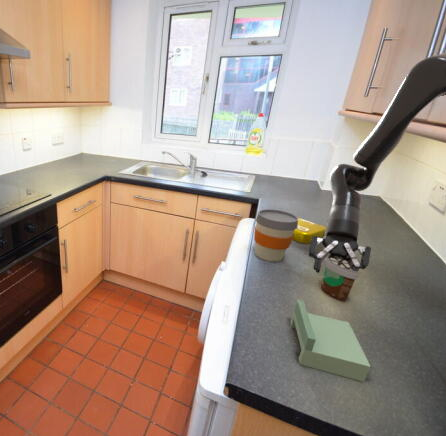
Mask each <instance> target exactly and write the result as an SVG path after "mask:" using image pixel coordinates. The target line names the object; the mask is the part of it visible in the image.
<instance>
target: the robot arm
mask: <svg viewBox="0 0 446 436" xmlns="http://www.w3.org/2000/svg"><path fill="white" fill-rule="evenodd" d="M444 95H446V52H443V53H439V54H435V55H431V56H429V57H426V58H423V59H422V60H420V61H419V62H417V63H415V64H414V66H413V67H412V68H410V70H409V71H408V73H407V74H406V76H405V77H404V80H403V81H402V83H401V84H400V87H399V88H398V90H397V92H396V93H395V95H394V97H393V99H392V101H391V102H390V104H389V105H388V107H387V108H386V110H385V112H384V114H383V115H382V116H381V118H380V119H379V121H378V122H377V124H376V126H374V128H373V129H372V131H371V132H370V133H369V134H368V135H367V136H366V138H365V139H364V140H363V142H362V143H361V144H360V145H359V147H358V148H357V149H356V151H355V152H354V153H353V156H352V157H353V161H354V162H355V163H356V164H357V165H359V166H355V165H352V164H348V163H340V164H338V165H336V166H334V167H333V169H331V172H330V176H329V183H330V188H331V195H332V201H331V208H330V211H329V214H328V218H327V220H326V221H327V224H326V231H325V234H324V237H323V238H318V237H317V236H313V237H312V239H311V243H309V244H310V245H309V251H308V256H309V257H310V258H313V259H314V264H313V270H314V271H315V273H318V274H319V273H320V272H321V267H322V264H323V258H325V257H326V256H327V255H328V254H331V255H333V256H339V257H342V258H344V257H345V258H346V259H347V260H348V261H349V262H350V263H351V265H352V268H353V270H354V271H356V272H358V273H359V269H360V270H361V269H362V270H365V269H366V268H367V267H369V265H370V258H371V251H372V247H370V246H369V245H368V246H361V245H359V244H358V237H359V230H360V224H361V211H362V210H361V209H362V203H363V197H362V194H361V193H359V192H362V191H365V190H366V189H368V188H369V187H371V184H372V183H373V181H374V178H375V176H376V174H377V172H378V171H379V168H380V166H381V165H382V164H383V162H384V161H385V160H386V159H387V158H388V157H389V156H390V155H391V153H393V151H394V150H395V149H396V148H397V147H398V145H399V144H400V142H401V141H402V139H403V137H404V135H405V133H406V131H407V129H408V127H409V125H410V124H411V123H412V121H413V120H414V119H415V118H416V117H417V115H418V114H419V113H420V112H421V111H423V110H424V109H425V108H426V107H427V106H428V105H429V104H430V103H432V102H433V101H434V100H435V99H436V98H441V97H440V96H444ZM320 243H321V244H322V245H323V247H324V248H323V249H322V250H321V251H320V252H318V253H317V252H316V250H317V246H319V245H320ZM356 251H358V252H359V254H360V255H361V258H360V262H359V261H358V258H357V255H356V254H355V252H356ZM358 277H359V275H358V276H357V278H358Z"/></svg>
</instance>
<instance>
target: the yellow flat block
mask: <svg viewBox="0 0 446 436" xmlns="http://www.w3.org/2000/svg"><path fill="white" fill-rule="evenodd" d="M297 218H298V225H297V229H295V231H294V237H293V239H292V241H294V242H297V243H299V244H303V245H308V244H311V239H312V237H313V236H317V237H318V238H324V237H325V234H326V228H327V226H325V225H321V224H318V223H315V222H312V221H309V220H306V219H304V218H301V217H297Z"/></svg>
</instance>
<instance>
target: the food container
mask: <svg viewBox="0 0 446 436" xmlns="http://www.w3.org/2000/svg"><path fill="white" fill-rule="evenodd" d="M322 264H323V265H324V268H323V269H324V270H323V273H322V278H321V283H320V289H321V291H322V292H323V293H324V294H325V295H327V296H328V297H330V298H331V299H334V300H337V301H340V302H344V303H346V302H347V299H348V297H349V295H350V293H351V290H352V288H353V286H354V283H355V281H357V279H358V277H359V271H358V272H356V271H354V270H353V268H352V265H351V263H350V262H349V261H348V260H347V259H346V258H345V257H344V258H342V257H339V256H333V255H331V254H329V253H328V254H327V255H326V256H325V257H324V259H323V260H322ZM357 276H358V277H357Z"/></svg>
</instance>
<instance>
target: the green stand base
mask: <svg viewBox="0 0 446 436" xmlns="http://www.w3.org/2000/svg"><path fill="white" fill-rule="evenodd" d="M289 325H290V328H293V329H295V330H296V333H297V337H298V342H299V346H300V349H301V350H300V353H299V356H298V363H299V365H300V366H304V367H308V368H311V369H314V370H315V369H316V370H319V371H323V372H326V373H330V374H333V375H336V376H340V377H344V378H348V379H351V380H355V381H359V382H363V383H364V382H365V380H366V378H367V377H368V374H369V372H370V369H371V368H372V367H371V364H370V362H369V360H368V358H367V356H366V354H365V352H364V350H363V348H362V346H361V343H360V342H359V340H358V338H357V336H356V334H355V332H354V330H353V328H352V326H351V324H350V322H348V321H345V320H341V319H335V318H331V317H328V316H322V315H319V314H313V313H309V312H308V311H307V307H306V304H305V301H304V300H301V299H297V300H296V303H295V306H294V309H293V313H292V317H291V320H290V324H289Z"/></svg>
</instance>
